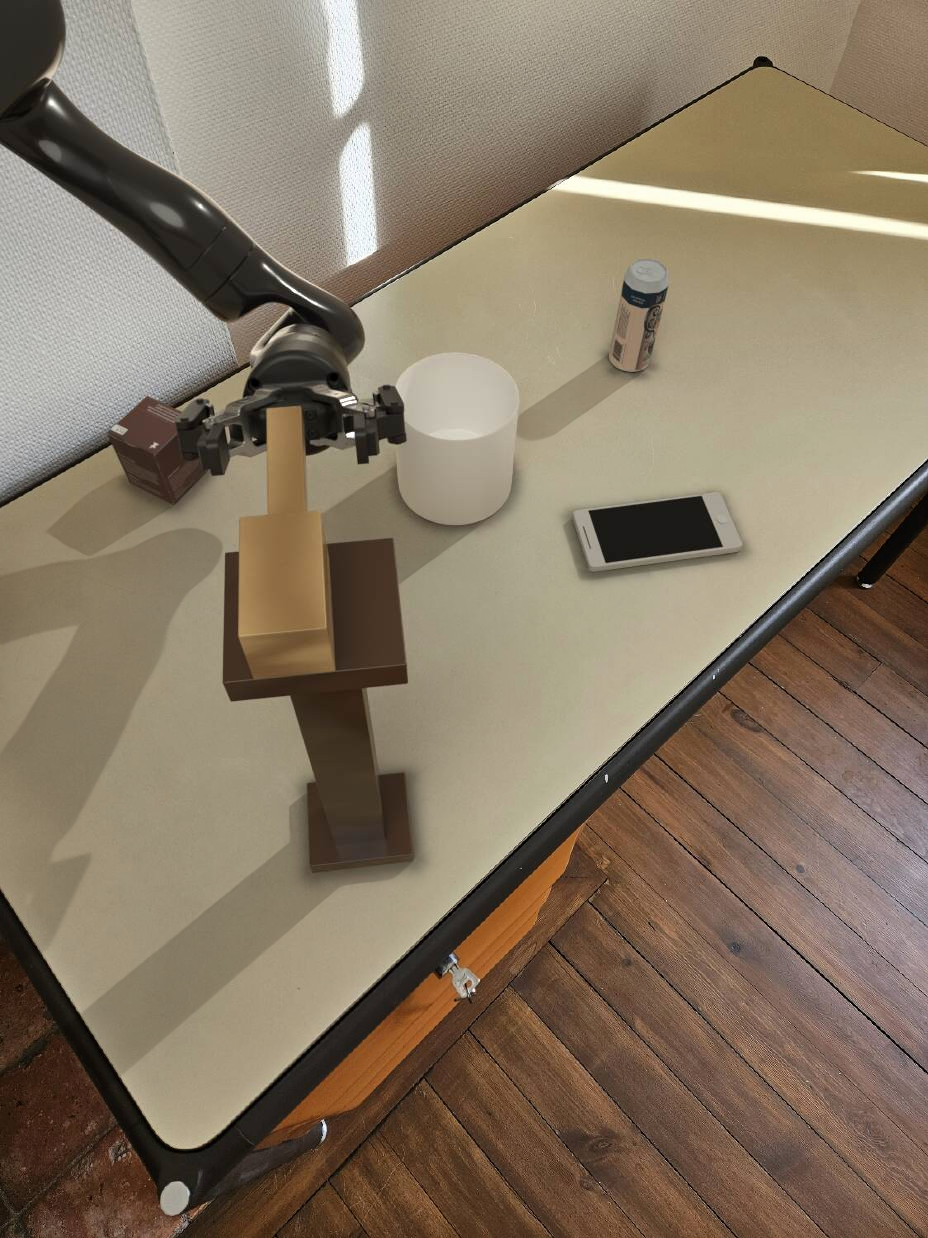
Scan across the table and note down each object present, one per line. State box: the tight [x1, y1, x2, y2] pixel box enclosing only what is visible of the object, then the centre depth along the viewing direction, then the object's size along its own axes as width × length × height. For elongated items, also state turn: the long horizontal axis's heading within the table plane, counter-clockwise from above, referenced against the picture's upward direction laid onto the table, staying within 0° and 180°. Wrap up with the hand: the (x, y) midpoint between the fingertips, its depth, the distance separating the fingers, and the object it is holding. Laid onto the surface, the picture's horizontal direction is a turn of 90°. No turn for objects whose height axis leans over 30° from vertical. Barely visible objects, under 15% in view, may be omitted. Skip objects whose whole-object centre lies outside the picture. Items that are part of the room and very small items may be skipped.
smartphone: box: [572, 491, 743, 573], centre depth 90 cm, size 7×16×1 cm, turn 100°
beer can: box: [608, 257, 671, 373], centre depth 99 cm, size 5×5×12 cm
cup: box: [394, 352, 520, 526], centre depth 88 cm, size 12×12×12 cm
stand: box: [222, 537, 415, 874], centre depth 60 cm, size 9×8×32 cm
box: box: [106, 395, 209, 505], centre depth 90 cm, size 6×6×7 cm
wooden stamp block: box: [238, 406, 335, 679], centre depth 47 cm, size 4×17×4 cm, turn 7°
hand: (288, 453), depth 53 cm, fingers open, 8 cm apart
